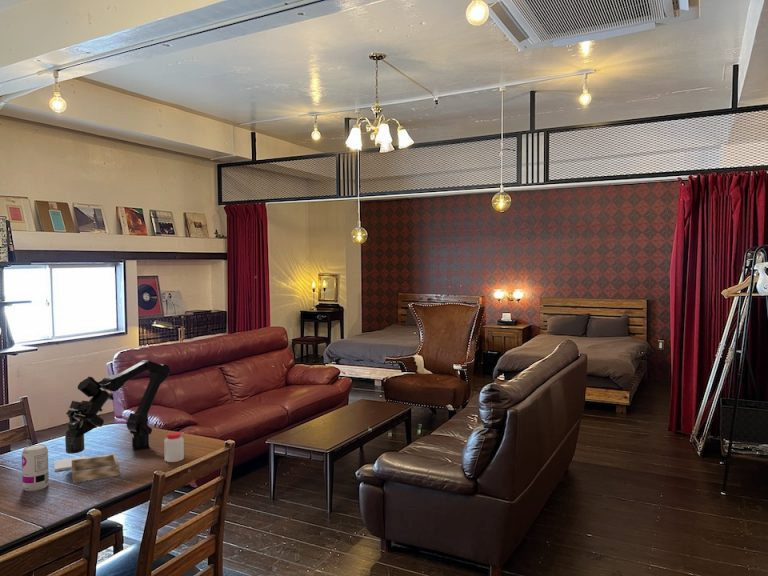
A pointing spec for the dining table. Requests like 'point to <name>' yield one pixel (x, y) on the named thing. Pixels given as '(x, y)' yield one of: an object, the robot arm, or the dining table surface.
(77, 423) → the supplement bottle
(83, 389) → the robot arm
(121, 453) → the dining table surface
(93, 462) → the crate
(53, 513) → the dining table surface
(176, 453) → the pill bottle
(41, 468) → the supplement can
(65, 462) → the mat
